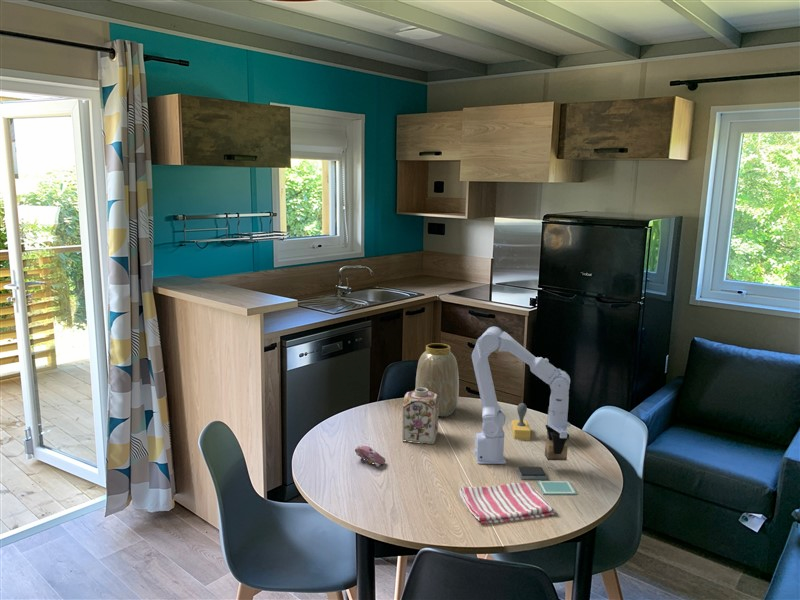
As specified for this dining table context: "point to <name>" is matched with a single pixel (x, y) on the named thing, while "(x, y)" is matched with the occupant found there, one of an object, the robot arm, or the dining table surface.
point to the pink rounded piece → (369, 454)
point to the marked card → (556, 488)
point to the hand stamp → (551, 455)
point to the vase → (439, 376)
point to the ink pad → (531, 473)
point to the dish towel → (505, 503)
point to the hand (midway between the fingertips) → (555, 450)
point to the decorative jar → (420, 416)
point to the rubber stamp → (521, 424)
